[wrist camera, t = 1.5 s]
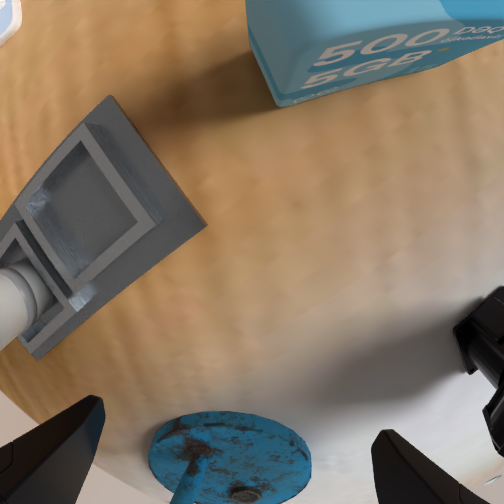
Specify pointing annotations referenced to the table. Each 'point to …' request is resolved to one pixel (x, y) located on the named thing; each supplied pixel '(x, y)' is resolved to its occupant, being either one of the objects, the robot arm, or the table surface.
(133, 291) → the table surface
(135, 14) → the table surface
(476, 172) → the table surface
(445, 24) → the data package
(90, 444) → the robot arm
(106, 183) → the panel
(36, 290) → the plug
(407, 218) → the table surface
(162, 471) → the desk lamp
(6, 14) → the calculator
